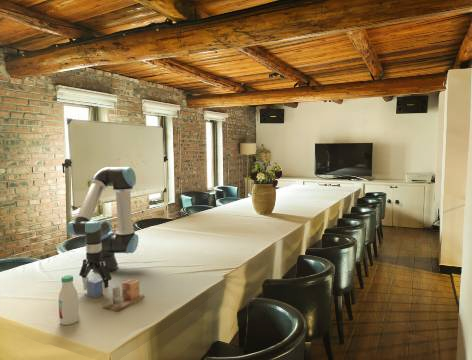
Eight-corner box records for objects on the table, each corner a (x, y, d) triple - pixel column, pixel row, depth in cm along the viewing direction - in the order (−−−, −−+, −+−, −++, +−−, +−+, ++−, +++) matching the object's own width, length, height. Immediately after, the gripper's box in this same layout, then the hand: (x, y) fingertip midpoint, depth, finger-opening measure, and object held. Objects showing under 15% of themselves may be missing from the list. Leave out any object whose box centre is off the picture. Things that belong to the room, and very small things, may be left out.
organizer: (102, 307, 169) (101, 289, 168) (129, 294, 185) (128, 277, 184) (118, 311, 164) (117, 292, 164) (144, 297, 181) (143, 279, 180)
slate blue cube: (87, 296, 183) (86, 281, 182) (96, 292, 188) (95, 277, 187) (95, 297, 180) (94, 283, 180) (104, 293, 186) (103, 279, 185)
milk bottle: (81, 316, 160) (79, 273, 158) (74, 325, 152) (72, 279, 150) (64, 317, 159) (62, 274, 158) (56, 325, 152) (54, 280, 150)
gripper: (70, 250, 184) (72, 290, 186) (106, 256, 174) (108, 298, 175) (82, 246, 191) (84, 285, 193) (117, 252, 180) (119, 292, 182)
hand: (95, 291), depth 184 cm, fingers open, 13 cm apart
